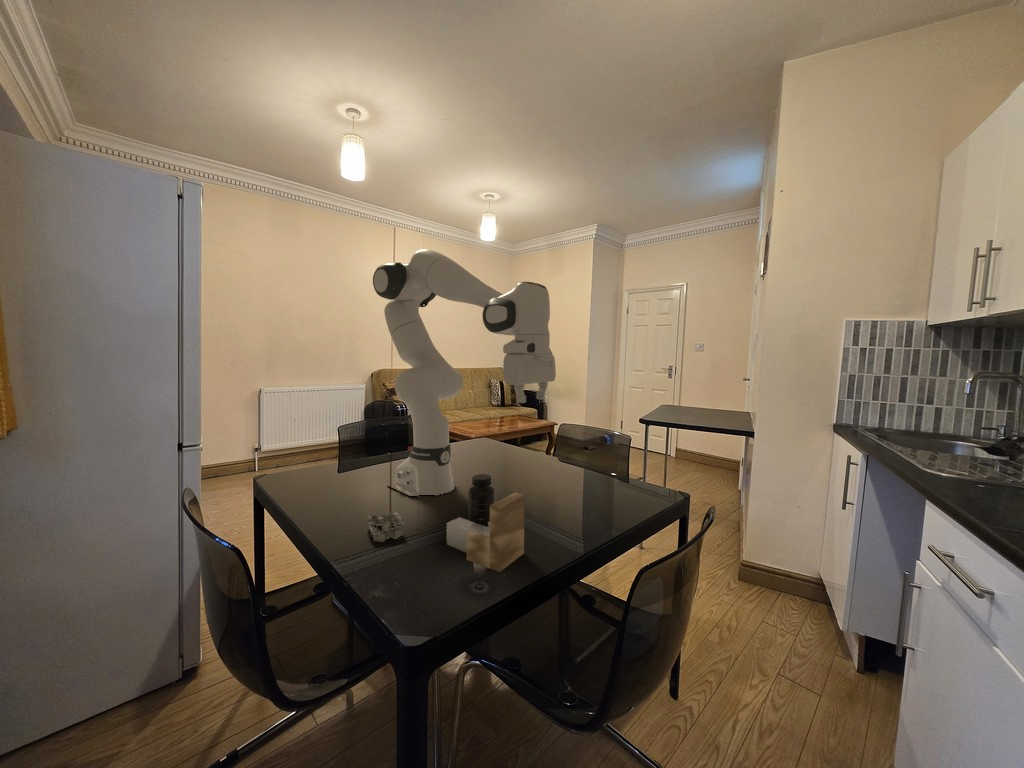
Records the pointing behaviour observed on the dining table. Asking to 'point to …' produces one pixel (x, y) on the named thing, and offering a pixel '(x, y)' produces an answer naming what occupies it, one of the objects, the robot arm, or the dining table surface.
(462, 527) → the light grey rectangular block
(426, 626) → the dining table surface
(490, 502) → the supplement bottle
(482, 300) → the robot arm
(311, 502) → the dining table surface
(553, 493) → the dining table surface
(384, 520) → the egg carton
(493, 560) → the wooden step block
